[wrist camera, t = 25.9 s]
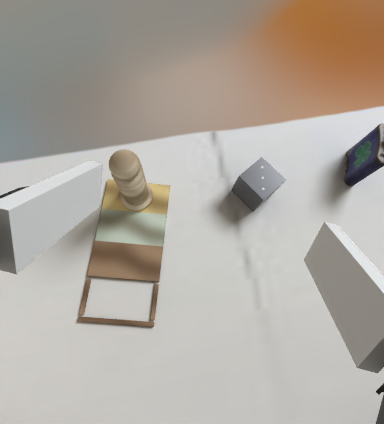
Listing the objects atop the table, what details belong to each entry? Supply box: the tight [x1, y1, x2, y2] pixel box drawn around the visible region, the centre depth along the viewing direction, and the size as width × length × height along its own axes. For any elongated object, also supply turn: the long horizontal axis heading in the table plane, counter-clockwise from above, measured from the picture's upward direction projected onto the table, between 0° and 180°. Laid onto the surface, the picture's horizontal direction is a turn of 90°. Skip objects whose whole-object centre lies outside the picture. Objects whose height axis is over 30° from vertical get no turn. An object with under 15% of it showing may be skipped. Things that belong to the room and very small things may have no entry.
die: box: [232, 157, 286, 211], centre depth 45 cm, size 6×6×6 cm
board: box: [78, 180, 170, 327], centre depth 42 cm, size 25×12×1 cm, turn 176°
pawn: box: [109, 150, 153, 211], centre depth 39 cm, size 6×6×14 cm
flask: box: [344, 124, 384, 186], centre depth 46 cm, size 9×3×11 cm, turn 162°
